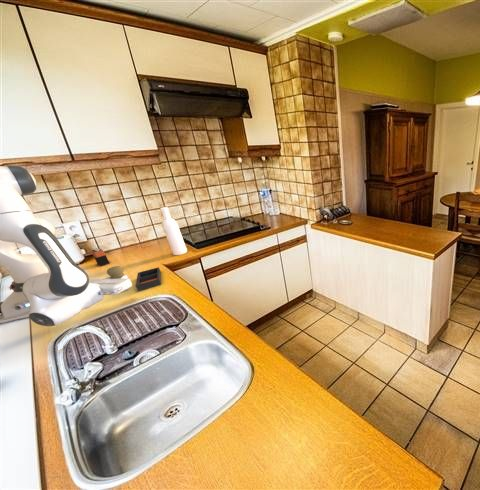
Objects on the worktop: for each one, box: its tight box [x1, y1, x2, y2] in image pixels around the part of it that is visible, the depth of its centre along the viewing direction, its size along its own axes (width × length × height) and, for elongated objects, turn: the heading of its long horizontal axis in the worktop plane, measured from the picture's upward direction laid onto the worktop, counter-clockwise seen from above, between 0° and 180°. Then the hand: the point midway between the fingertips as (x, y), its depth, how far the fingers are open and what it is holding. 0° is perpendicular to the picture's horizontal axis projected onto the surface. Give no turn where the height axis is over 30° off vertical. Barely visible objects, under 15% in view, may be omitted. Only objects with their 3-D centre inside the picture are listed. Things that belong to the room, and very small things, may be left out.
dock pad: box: [135, 266, 162, 292], centre depth 137 cm, size 9×18×3 cm, turn 36°
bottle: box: [159, 206, 188, 256], centre depth 165 cm, size 8×8×30 cm
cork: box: [106, 265, 133, 294], centre depth 116 cm, size 6×6×11 cm
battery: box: [90, 247, 110, 267], centre depth 160 cm, size 4×7×10 cm, turn 56°
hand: (120, 276), depth 116 cm, fingers closed on cork, 4 cm apart
